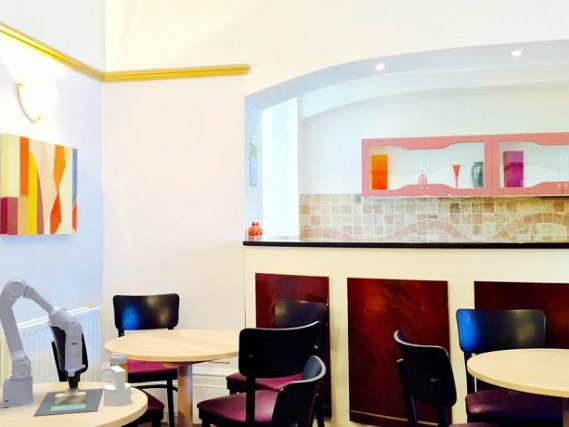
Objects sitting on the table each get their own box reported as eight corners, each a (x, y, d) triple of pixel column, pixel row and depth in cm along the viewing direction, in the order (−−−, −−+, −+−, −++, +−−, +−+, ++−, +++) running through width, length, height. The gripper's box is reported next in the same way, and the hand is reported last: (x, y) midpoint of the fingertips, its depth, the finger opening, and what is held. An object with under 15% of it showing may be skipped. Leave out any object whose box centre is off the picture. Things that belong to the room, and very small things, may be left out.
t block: (54, 405, 197) (54, 396, 197) (58, 397, 207) (58, 389, 207) (85, 403, 200) (85, 394, 200) (87, 395, 209) (87, 387, 209)
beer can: (130, 392, 214) (129, 352, 215) (123, 397, 208) (123, 355, 209) (114, 392, 215) (114, 351, 215) (107, 396, 209) (107, 355, 209)
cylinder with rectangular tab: (134, 404, 199) (133, 369, 200) (108, 408, 195) (107, 373, 195) (126, 398, 207) (126, 364, 207) (101, 402, 202) (101, 368, 203)
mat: (33, 416, 187) (33, 415, 187) (48, 393, 214) (47, 392, 214) (97, 411, 192) (97, 410, 192) (103, 389, 219) (103, 388, 219)
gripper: (83, 357, 204) (83, 396, 203) (87, 349, 218) (87, 385, 217) (62, 358, 202) (62, 397, 201) (67, 350, 216) (67, 387, 216)
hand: (73, 391), depth 209 cm, fingers closed
